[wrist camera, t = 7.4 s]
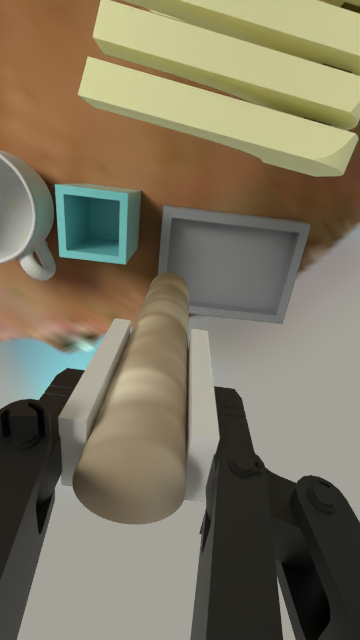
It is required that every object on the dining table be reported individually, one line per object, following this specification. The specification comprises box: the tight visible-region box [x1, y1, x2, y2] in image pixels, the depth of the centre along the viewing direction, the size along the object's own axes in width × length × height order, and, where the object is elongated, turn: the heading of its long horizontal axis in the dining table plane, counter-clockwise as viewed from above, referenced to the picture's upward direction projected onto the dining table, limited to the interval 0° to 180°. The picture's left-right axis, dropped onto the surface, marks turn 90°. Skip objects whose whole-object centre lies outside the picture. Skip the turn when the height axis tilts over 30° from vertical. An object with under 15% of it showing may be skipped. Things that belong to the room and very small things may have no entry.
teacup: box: [0, 150, 56, 281], centre depth 31 cm, size 14×11×8 cm
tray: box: [158, 205, 311, 324], centre depth 35 cm, size 16×12×3 cm
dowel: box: [72, 272, 189, 524], centre depth 15 cm, size 3×3×16 cm
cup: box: [55, 183, 141, 264], centre depth 31 cm, size 6×6×8 cm
